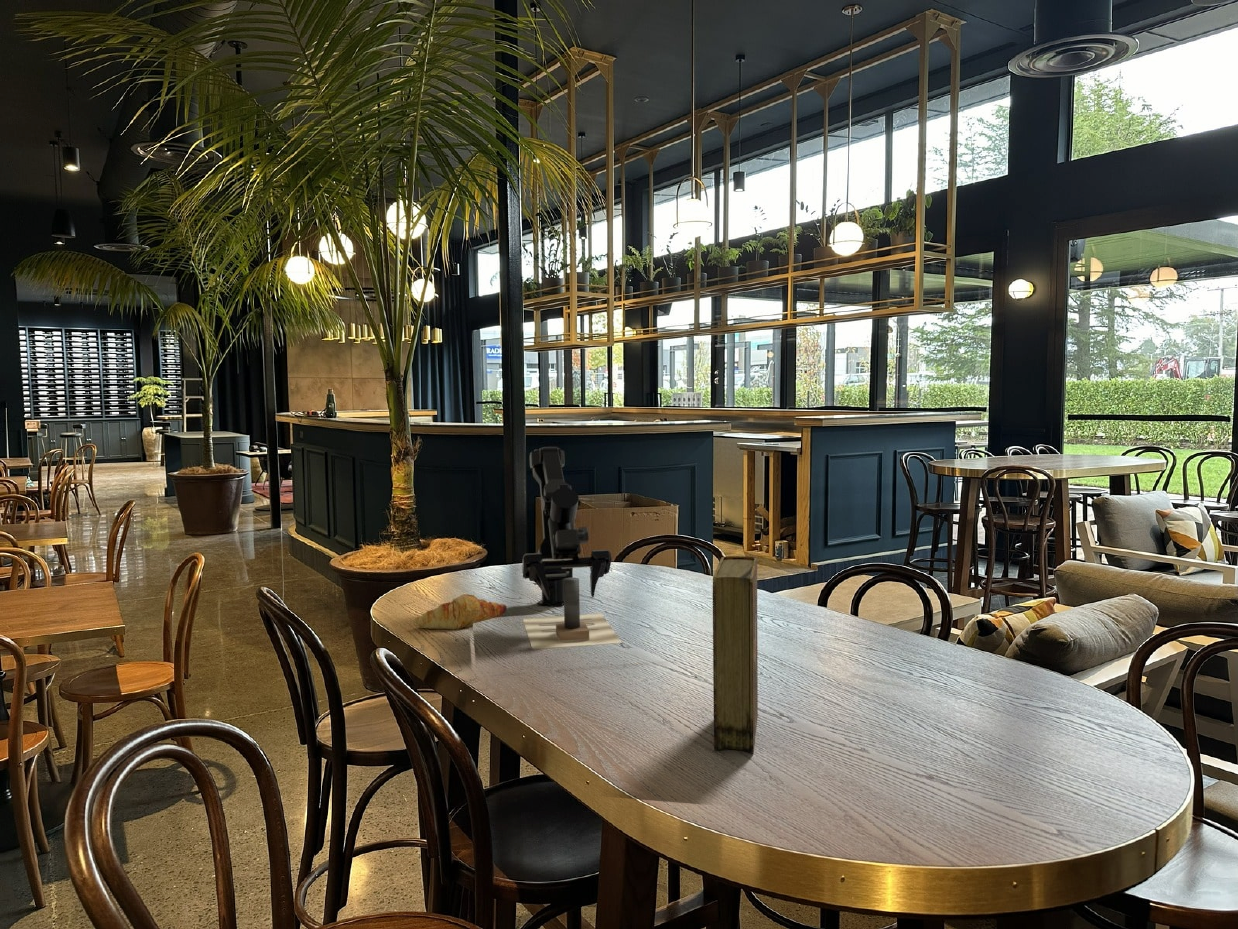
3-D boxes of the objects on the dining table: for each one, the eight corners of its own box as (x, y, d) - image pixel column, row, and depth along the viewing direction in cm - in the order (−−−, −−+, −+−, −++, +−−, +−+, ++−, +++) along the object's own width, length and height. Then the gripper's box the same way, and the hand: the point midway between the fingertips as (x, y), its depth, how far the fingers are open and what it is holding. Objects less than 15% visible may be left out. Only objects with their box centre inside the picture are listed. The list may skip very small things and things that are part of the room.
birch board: (522, 623, 189) (522, 618, 189) (601, 617, 192) (601, 613, 192) (532, 654, 165) (532, 649, 165) (622, 647, 169) (622, 642, 169)
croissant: (419, 649, 182) (421, 621, 178) (407, 618, 190) (410, 591, 186) (511, 633, 192) (515, 606, 188) (496, 604, 200) (500, 578, 196)
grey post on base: (555, 633, 177) (554, 576, 176) (584, 631, 178) (583, 575, 177) (560, 642, 170) (558, 583, 169) (589, 640, 171) (588, 581, 170)
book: (723, 711, 133) (721, 555, 132) (758, 713, 132) (757, 556, 130) (713, 753, 117) (712, 577, 116) (753, 756, 116) (752, 578, 114)
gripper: (521, 516, 176) (527, 578, 166) (609, 512, 180) (620, 573, 170) (519, 547, 184) (525, 608, 174) (603, 543, 188) (613, 602, 178)
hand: (571, 597), depth 174 cm, fingers open, 9 cm apart
